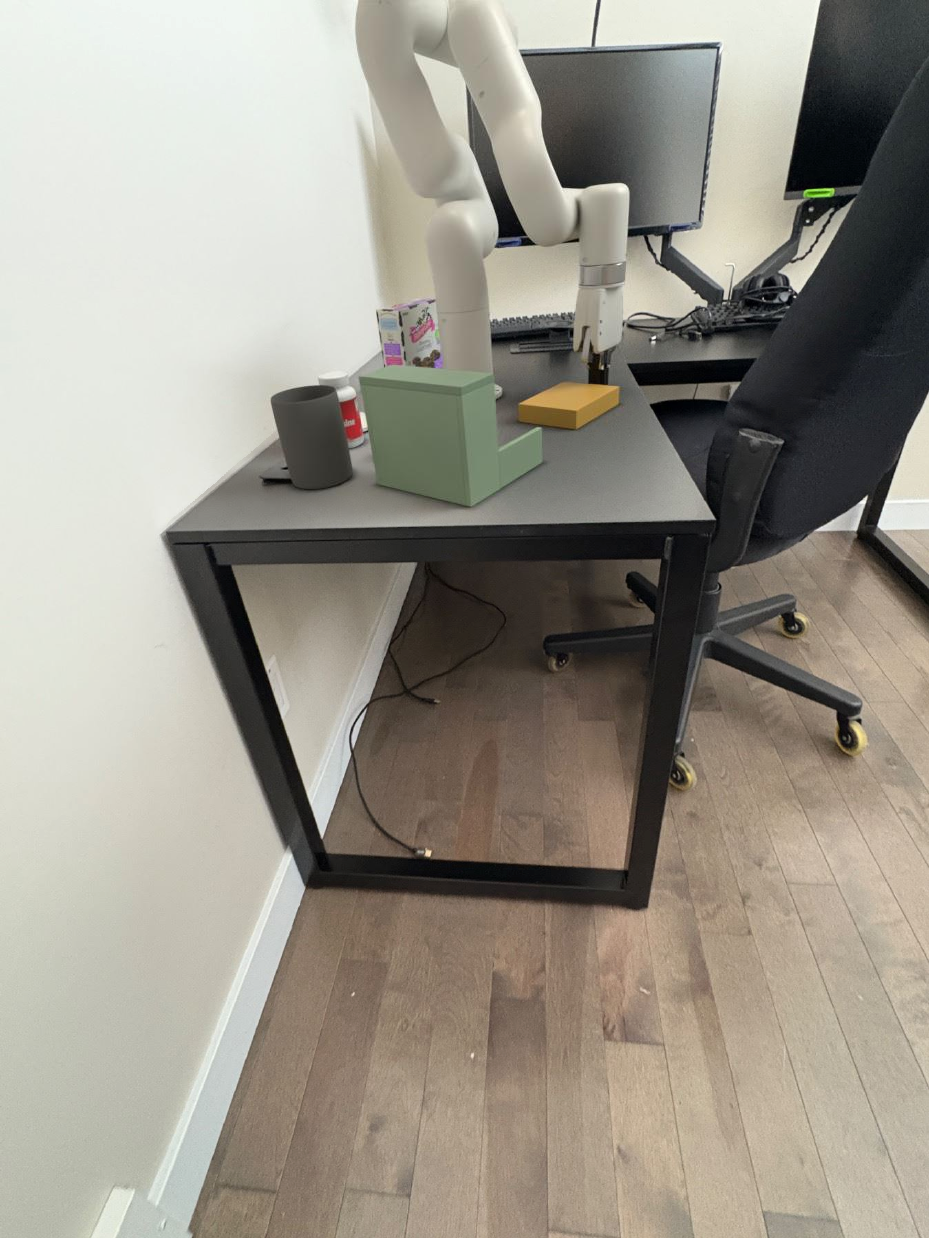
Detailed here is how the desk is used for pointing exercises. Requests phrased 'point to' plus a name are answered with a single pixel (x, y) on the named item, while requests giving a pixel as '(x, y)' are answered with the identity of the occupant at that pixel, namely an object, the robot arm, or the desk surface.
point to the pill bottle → (346, 405)
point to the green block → (441, 433)
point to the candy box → (410, 334)
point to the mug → (312, 436)
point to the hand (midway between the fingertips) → (597, 391)
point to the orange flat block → (569, 404)
